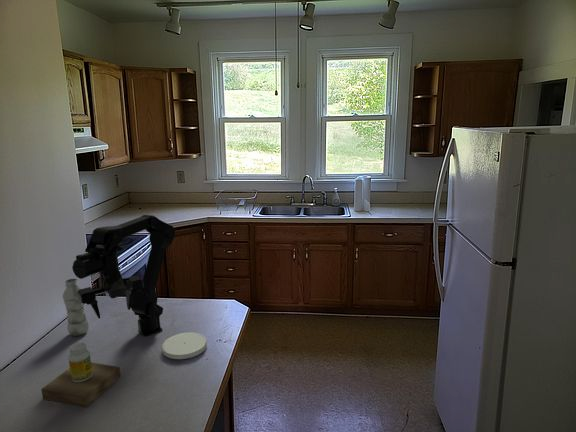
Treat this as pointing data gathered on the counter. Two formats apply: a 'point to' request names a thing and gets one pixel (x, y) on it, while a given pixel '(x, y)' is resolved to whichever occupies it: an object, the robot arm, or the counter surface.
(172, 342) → the plastic lid
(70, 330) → the plastic bottle
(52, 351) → the counter surface
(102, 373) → the walnut plinth
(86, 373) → the supplement bottle
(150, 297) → the robot arm
